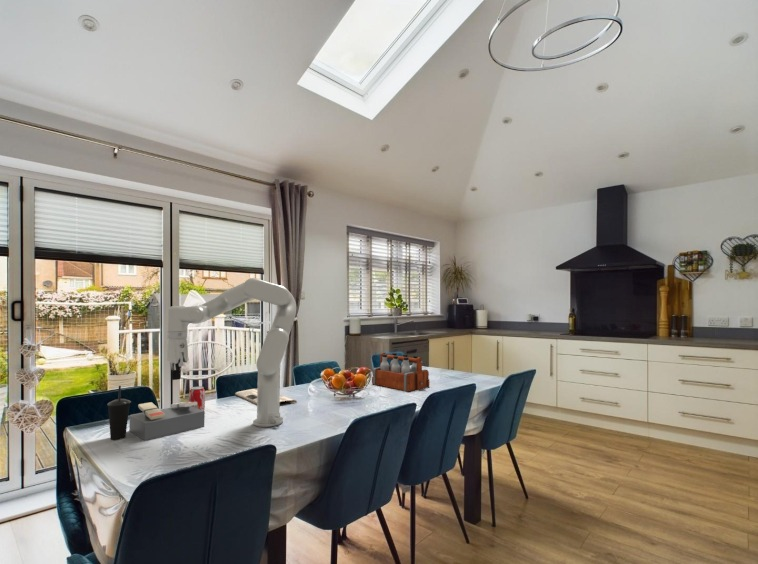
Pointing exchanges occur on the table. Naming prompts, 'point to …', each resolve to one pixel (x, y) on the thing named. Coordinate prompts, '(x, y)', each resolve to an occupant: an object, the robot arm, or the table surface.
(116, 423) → the drinking cup
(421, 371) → the milk bottle holder
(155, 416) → the sand rocker
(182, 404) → the white rocker
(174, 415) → the switch box
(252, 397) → the newspaper
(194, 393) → the soda can
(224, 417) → the table surface
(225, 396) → the table surface
